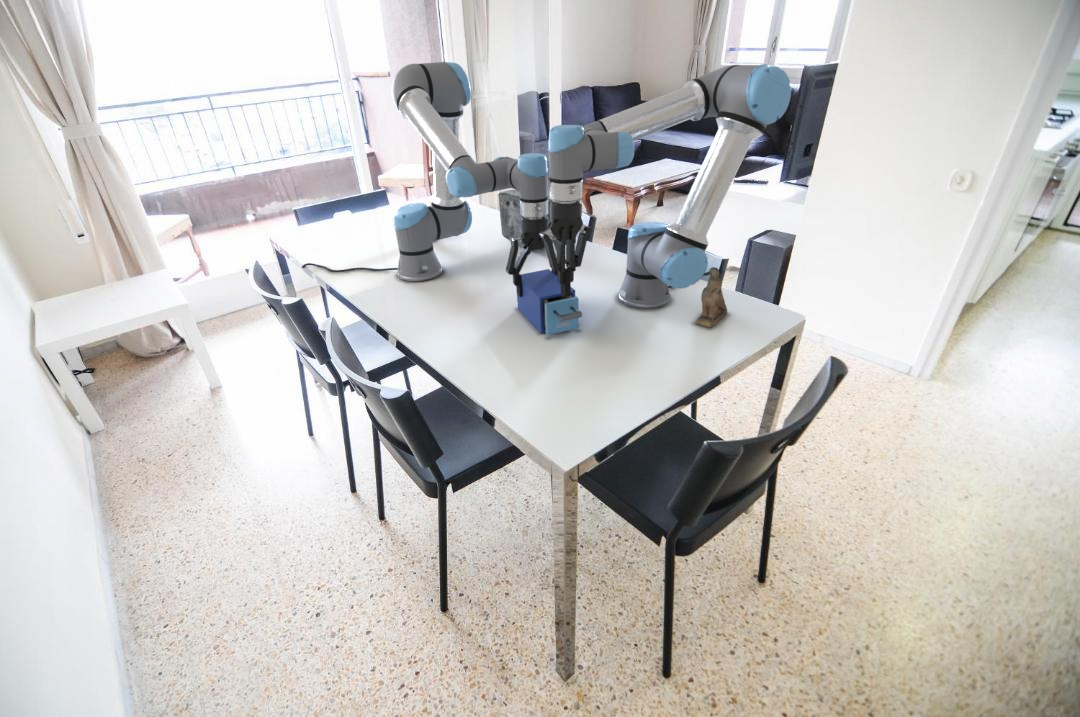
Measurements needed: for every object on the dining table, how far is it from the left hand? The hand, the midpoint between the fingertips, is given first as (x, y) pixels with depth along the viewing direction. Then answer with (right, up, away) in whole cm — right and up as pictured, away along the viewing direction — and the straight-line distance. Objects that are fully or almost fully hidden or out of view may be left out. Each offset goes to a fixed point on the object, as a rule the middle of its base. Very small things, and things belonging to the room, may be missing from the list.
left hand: (537, 291), depth 145 cm
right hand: (+7, -3, -19) cm, 21 cm away
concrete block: (-4, +24, +51) cm, 57 cm away
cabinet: (+2, -8, -1) cm, 8 cm away
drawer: (+5, -10, -7) cm, 13 cm away
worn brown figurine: (+49, -8, -5) cm, 50 cm away
